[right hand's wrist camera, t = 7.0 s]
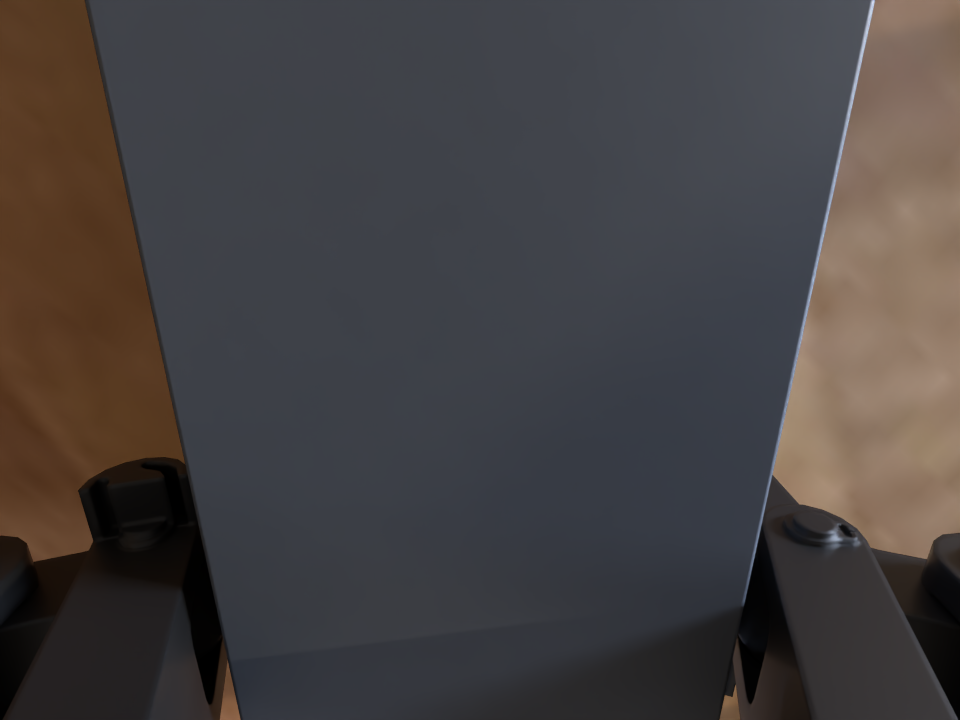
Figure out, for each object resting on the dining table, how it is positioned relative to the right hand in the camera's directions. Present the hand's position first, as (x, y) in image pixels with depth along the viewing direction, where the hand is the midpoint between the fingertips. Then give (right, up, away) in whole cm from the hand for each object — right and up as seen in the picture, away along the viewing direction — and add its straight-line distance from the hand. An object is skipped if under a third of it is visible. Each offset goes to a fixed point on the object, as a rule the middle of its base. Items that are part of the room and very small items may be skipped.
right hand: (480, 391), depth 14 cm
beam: (0, +32, -11) cm, 34 cm away
